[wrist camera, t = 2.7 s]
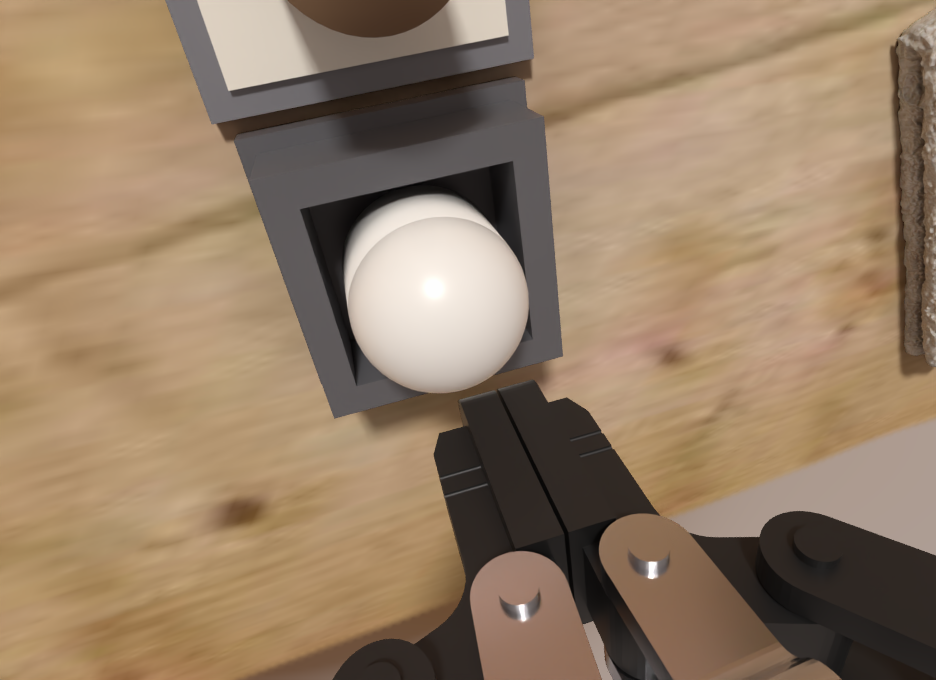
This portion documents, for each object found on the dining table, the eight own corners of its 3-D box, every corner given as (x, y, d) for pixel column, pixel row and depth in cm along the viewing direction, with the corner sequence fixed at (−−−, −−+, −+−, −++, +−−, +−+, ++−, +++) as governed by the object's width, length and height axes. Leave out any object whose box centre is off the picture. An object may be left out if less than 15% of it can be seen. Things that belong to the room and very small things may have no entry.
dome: (363, 346, 20) (382, 452, 15) (321, 205, 17) (328, 282, 13) (503, 310, 20) (562, 401, 16) (484, 169, 18) (547, 229, 13)
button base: (320, 369, 23) (323, 434, 19) (237, 134, 18) (221, 165, 15) (538, 312, 24) (577, 364, 20) (514, 76, 19) (560, 93, 16)
